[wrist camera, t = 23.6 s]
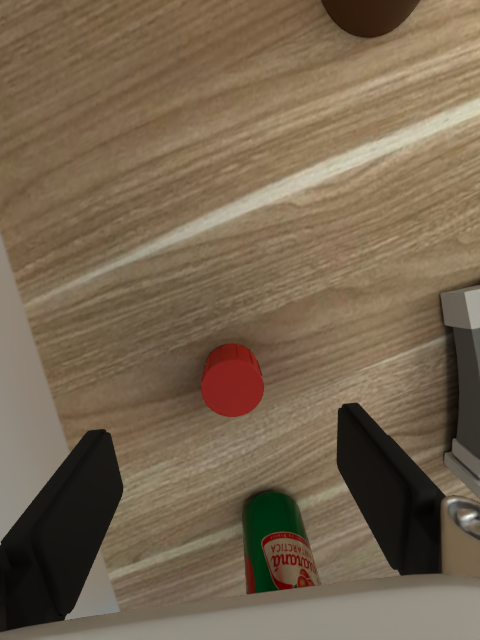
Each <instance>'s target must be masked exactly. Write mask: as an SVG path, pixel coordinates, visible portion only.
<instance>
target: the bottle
mask: <svg viewBox="0 0 480 640" xmlns="http://www.w3.org/2000/svg"><path fill="white" fill-rule="evenodd" d="M419 2H420V0H323V3H324V5H325V7H326V9H327V11H328V13H329V14H330V16H331V17H332V18H333V20H334V21H335V22H336V23H337V24H338V25H339V26H340V27H342V28H343V29H344V30H346V31H348V32H349V33H352V34H354V35H357V36H362V37H374V36H379V35H383V34H385V33H388V32H390V31H392V30H393V29H395V28H396V27H398V26H399V25H400V24H401V23H402V22H404V21H405V19H406V18H407V17H408V16H409V15H410V14H411V12H412V11H413V10H414V8H415V7H416V6H417V4H418V3H419Z"/></svg>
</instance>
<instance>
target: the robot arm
mask: <svg viewBox="0 0 480 640" xmlns="http://www.w3.org/2000/svg"><path fill="white" fill-rule="evenodd" d="M337 466H338V469H339V471H340V473H341V475H342V477H343V479H344V481H345V483H346V485H347V486H348V488H349V490H350V492H351V494H352V496H353V498H354V499H355V501H356V503H357V505H358V507H359V509H360V511H361V512H362V514H363V516H364V518H365V520H366V522H367V524H368V525H369V527H370V529H371V531H372V533H373V535H374V537H375V538H376V540H377V542H378V544H379V546H380V548H381V550H382V552H383V553H384V555H385V557H386V559H387V561H388V563H389V564H390V566H391V567H392V568H393V569H394V570H398V572H399V573H400V575H401V576H394V577H384V578H375V579H365V580H356V581H348V582H340V583H333V584H325V585H317V586H309V587H301V588H294V589H286V590H278V591H270V592H263V593H255V594H248V595H240V596H233V597H225V598H218V599H211V600H203V601H196V602H189V603H181V604H174V605H167V606H160V607H153V608H146V609H139V610H132V611H124V612H117V613H110V614H104V615H96V616H89V617H82V618H76V619H70V620H64V619H65V617H66V615H67V614H68V613H70V612H71V611H72V610H73V609H74V607H75V605H76V602H77V600H78V597H79V595H80V593H81V591H82V588H83V586H84V583H85V581H86V579H87V576H88V574H89V572H90V569H91V567H92V565H93V562H94V560H95V558H96V555H97V553H98V551H99V548H100V546H101V544H102V541H103V539H104V537H105V534H106V532H107V530H108V527H109V525H110V523H111V520H112V518H113V516H114V513H115V511H116V509H117V506H118V504H119V502H120V499H121V497H122V493H123V483H122V479H121V475H120V471H119V467H118V463H117V458H116V454H115V450H114V446H113V442H112V438H111V434H110V433H109V432H106V430H105V429H99V430H90V431H88V432H86V434H85V435H84V436H83V437H82V439H81V440H80V441H79V443H78V444H77V445H76V446H75V448H74V449H73V450H72V451H71V453H70V454H69V455H68V457H67V458H66V459H65V461H64V462H63V463H62V464H61V466H60V467H59V468H58V469H57V471H56V472H55V473H54V475H53V476H52V477H51V478H50V480H49V481H48V482H47V484H46V485H45V486H44V487H43V489H42V490H41V491H40V492H39V494H38V495H37V496H36V497H35V499H34V500H33V501H32V503H31V504H30V505H29V506H28V508H27V509H26V510H25V512H24V513H23V514H22V515H21V517H20V518H19V519H18V520H17V522H16V523H15V524H14V526H13V527H12V528H11V529H10V531H9V532H8V533H7V534H6V536H5V537H4V538H3V540H2V541H1V545H0V640H480V502H477V501H475V500H473V499H471V498H467V497H464V496H458V495H451V496H447V497H446V496H445V495H444V494H443V493H442V491H441V490H440V489H439V488H438V487H437V486H436V485H435V484H434V483H433V482H432V481H431V480H430V479H429V477H428V476H427V475H426V474H425V473H424V472H423V471H422V470H421V469H420V468H419V467H418V466H417V464H416V463H415V462H414V461H413V460H412V459H411V458H410V457H409V456H408V455H407V454H406V453H405V452H404V450H403V449H402V448H401V447H400V446H399V445H398V444H397V443H396V442H395V441H394V440H393V439H392V438H391V437H390V436H389V435H387V434H386V433H385V432H384V431H383V430H382V429H381V428H380V426H379V425H378V424H377V423H376V422H375V421H374V420H373V419H372V418H371V417H370V416H369V414H368V413H367V412H366V411H365V410H364V409H363V408H362V407H361V406H360V405H359V404H358V403H348V404H343V405H342V408H339V409H338V431H337Z"/></svg>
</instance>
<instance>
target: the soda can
mask: <svg viewBox="0 0 480 640" xmlns="http://www.w3.org/2000/svg"><path fill="white" fill-rule="evenodd" d="M242 525H243V542H244V559H245V576H246V593H247V595H248V594H255V593H263V592H270V591H278V590H286V589H294V588H301V587H309V586H317V585H321V582H320V579H319V575H318V572H317V568H316V565H315V562H314V558H313V555H312V551H311V548H310V544H309V541H308V538H307V534H306V531H305V527H304V524H303V520H302V517H301V514H300V510H299V507H298V505H297V504H296V502H295V501H294V500H293V499H292V498H290V497H289V496H287V495H286V494H283V493H281V492H277V491H267V492H263V493H260V494H258V495H256V496H255V497H254V498H253V499H252V500H251V501H250V502H249V503H248V504H247V506H246V507H245V509H244V511H243V514H242Z"/></svg>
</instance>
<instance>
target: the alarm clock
mask: <svg viewBox="0 0 480 640" xmlns="http://www.w3.org/2000/svg"><path fill="white" fill-rule="evenodd" d="M440 295H441V302H442V309H443V316H444V323H445V325H447V326H453V331H454V338H455V345H456V352H457V362H458V376H459V417H458V429H457V438H455V439H453V444H452V451H451V452H447V453H445V456H444V464H445V465H446V466H447V467H448V468H449V469H450V470H451V471H452V472H453V473H454V474H455V475H456V476H457V477H458V478H459V479H460V480H461V481H462V482H463V483H464V484H465V485H466V486H467V487H468V488H469V489H470V490H471V491H472V492H473V493H474V494H475V495H476V496H477V497H478V498H479V499H480V285H476V286H472V287H467V288H463V289H458V290H454V291H449V292H445V293H440Z"/></svg>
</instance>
